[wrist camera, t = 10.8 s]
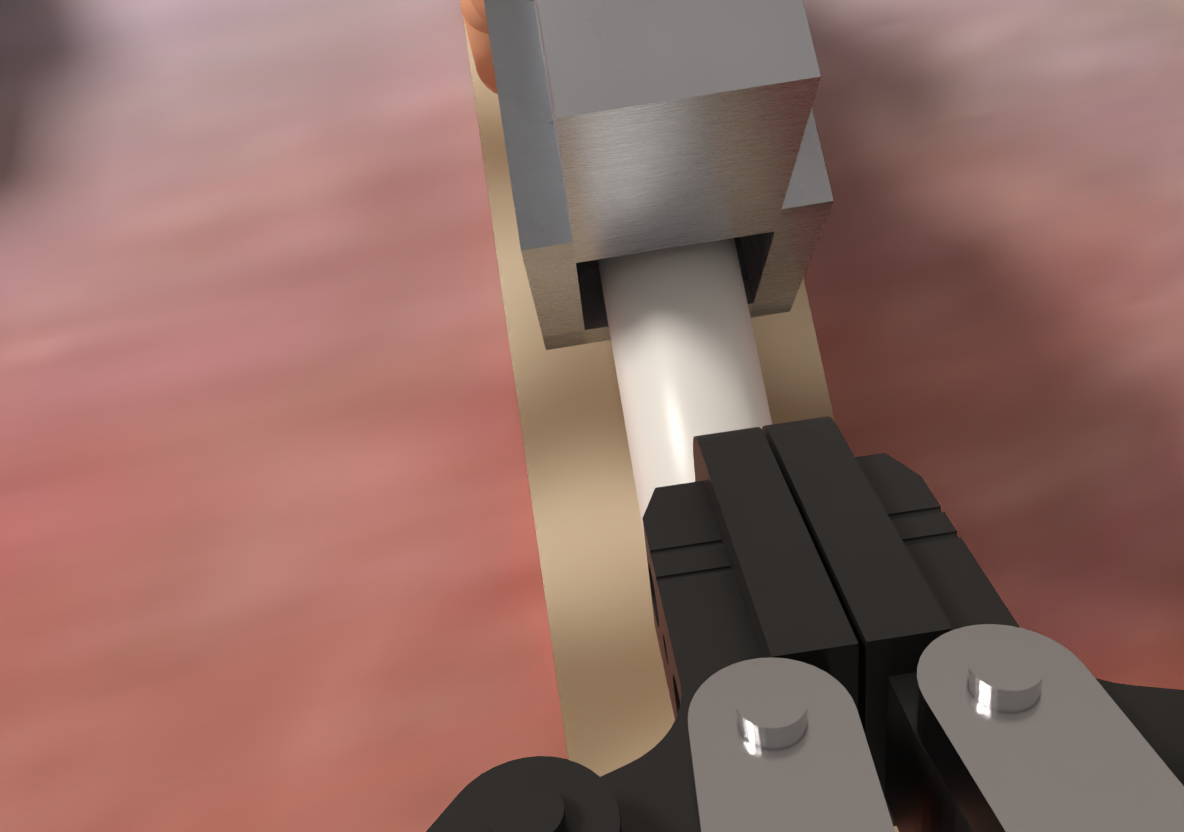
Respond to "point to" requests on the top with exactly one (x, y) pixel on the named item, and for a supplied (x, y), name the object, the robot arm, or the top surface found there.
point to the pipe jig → (681, 355)
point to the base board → (605, 491)
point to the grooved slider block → (657, 143)
